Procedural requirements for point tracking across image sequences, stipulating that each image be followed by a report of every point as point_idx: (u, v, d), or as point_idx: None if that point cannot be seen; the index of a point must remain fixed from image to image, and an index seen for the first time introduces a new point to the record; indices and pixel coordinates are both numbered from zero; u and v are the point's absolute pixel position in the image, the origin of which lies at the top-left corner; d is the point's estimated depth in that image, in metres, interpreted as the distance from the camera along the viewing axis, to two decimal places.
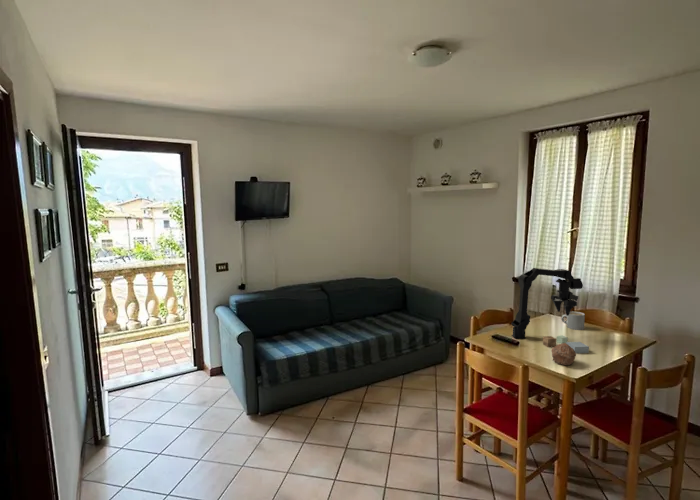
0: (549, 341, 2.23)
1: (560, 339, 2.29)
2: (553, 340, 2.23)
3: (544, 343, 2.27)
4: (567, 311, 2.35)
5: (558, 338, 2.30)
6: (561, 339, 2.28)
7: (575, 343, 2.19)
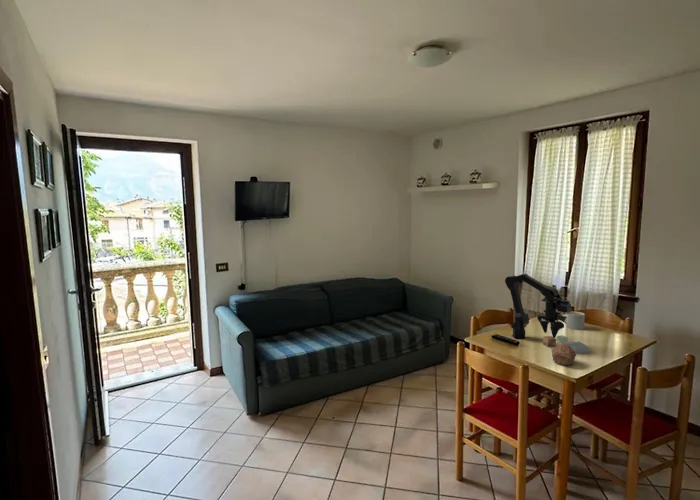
0: (549, 341, 2.23)
1: (560, 339, 2.29)
2: (553, 340, 2.23)
3: (544, 343, 2.27)
4: (554, 333, 2.20)
5: (558, 338, 2.30)
6: (561, 339, 2.28)
7: (575, 343, 2.19)
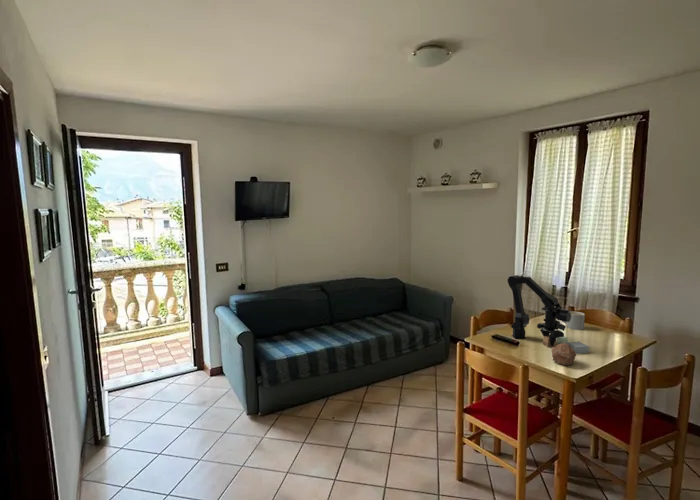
0: (549, 341, 2.23)
1: (560, 339, 2.29)
2: None
3: (544, 343, 2.27)
4: (552, 341, 2.22)
5: (558, 338, 2.30)
6: (561, 339, 2.28)
7: (575, 343, 2.19)
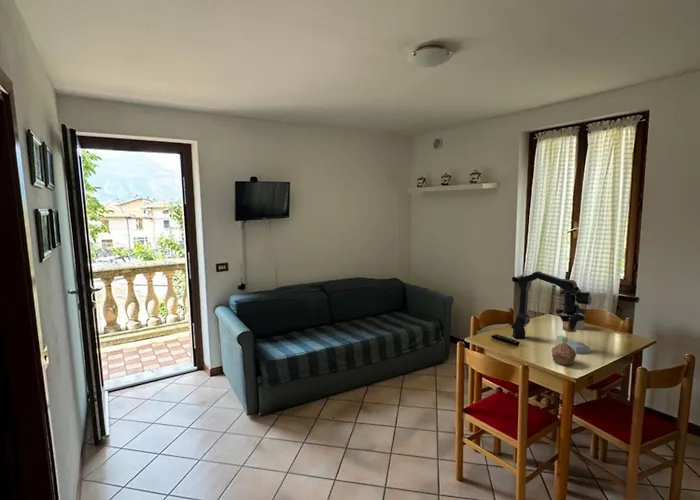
0: (569, 326, 2.16)
1: (560, 339, 2.29)
2: None
3: (564, 328, 2.20)
4: (572, 326, 2.15)
5: (558, 338, 2.30)
6: (561, 339, 2.28)
7: (575, 343, 2.19)
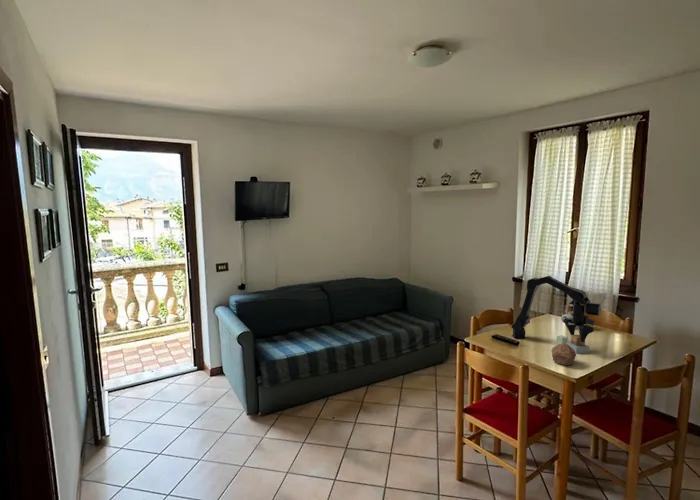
0: (577, 340, 2.14)
1: (560, 339, 2.29)
2: None
3: (572, 342, 2.18)
4: (582, 337, 2.11)
5: (558, 338, 2.30)
6: (561, 339, 2.28)
7: None
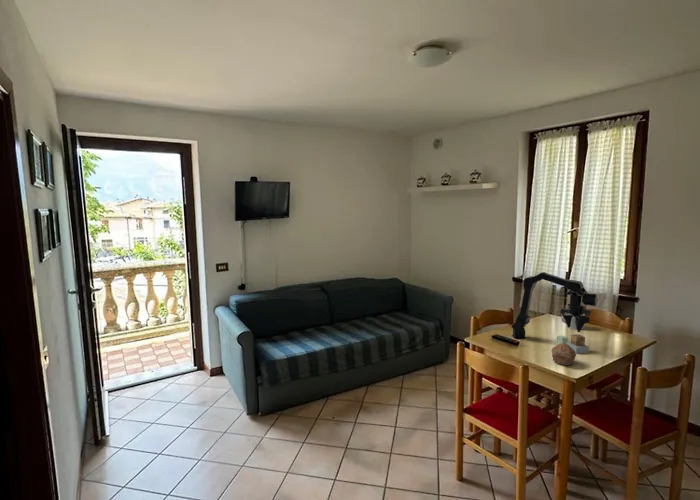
0: (577, 339, 2.14)
1: (560, 339, 2.29)
2: (582, 338, 2.14)
3: (572, 341, 2.18)
4: (578, 327, 2.13)
5: (558, 338, 2.30)
6: (561, 339, 2.28)
7: None
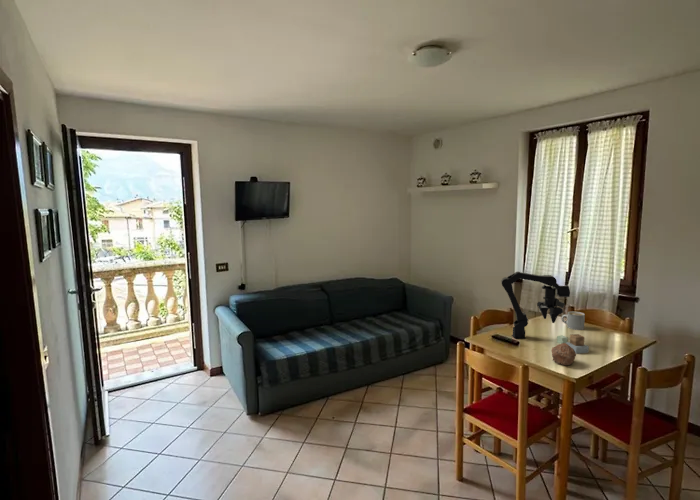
0: (576, 339, 2.14)
1: (560, 339, 2.29)
2: (581, 338, 2.14)
3: (571, 341, 2.18)
4: (553, 318, 2.29)
5: (558, 338, 2.30)
6: (561, 339, 2.28)
7: None
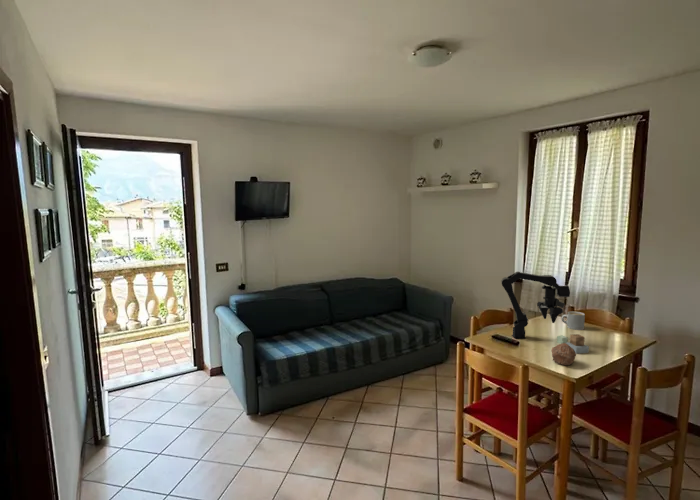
0: (576, 339, 2.14)
1: (560, 339, 2.29)
2: (581, 338, 2.14)
3: (571, 341, 2.18)
4: (553, 318, 2.29)
5: (558, 338, 2.30)
6: (561, 339, 2.28)
7: None
